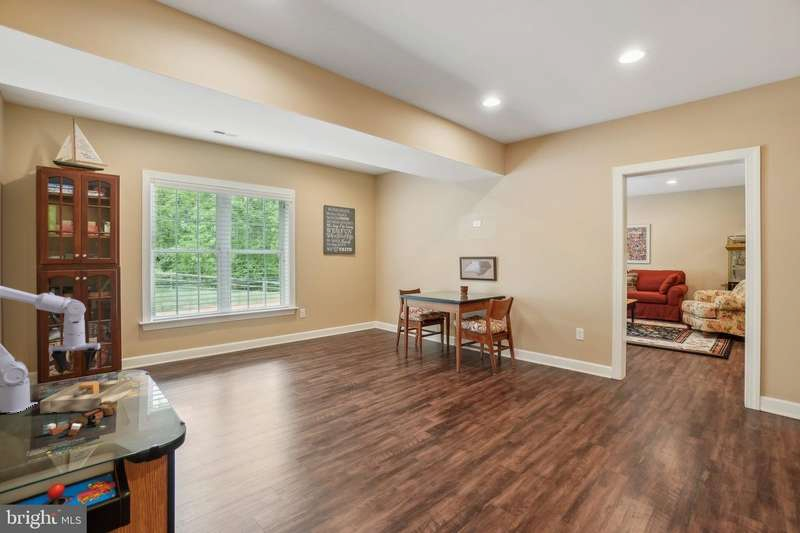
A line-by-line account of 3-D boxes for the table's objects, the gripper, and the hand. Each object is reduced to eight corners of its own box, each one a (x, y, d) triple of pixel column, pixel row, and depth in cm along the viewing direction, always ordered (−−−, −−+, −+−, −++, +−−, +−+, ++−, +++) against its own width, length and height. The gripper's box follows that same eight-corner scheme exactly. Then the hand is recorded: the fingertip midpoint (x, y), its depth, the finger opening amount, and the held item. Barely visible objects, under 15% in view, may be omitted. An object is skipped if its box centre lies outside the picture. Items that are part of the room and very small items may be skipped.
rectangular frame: (40, 413, 121) (39, 397, 120) (79, 392, 138) (79, 378, 138) (101, 409, 123) (101, 394, 123) (132, 390, 141) (132, 376, 141)
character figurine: (46, 436, 106) (45, 422, 106) (104, 409, 124) (103, 397, 124) (75, 438, 105) (75, 424, 105) (129, 410, 123) (129, 399, 123)
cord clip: (78, 399, 129) (78, 385, 128) (84, 396, 132) (84, 382, 131) (93, 399, 129) (93, 384, 129) (99, 395, 132) (98, 381, 132)
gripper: (43, 336, 129) (44, 375, 129) (93, 334, 133) (94, 371, 134) (54, 332, 135) (56, 369, 136) (102, 330, 140) (103, 365, 140)
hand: (75, 370), depth 135 cm, fingers open, 7 cm apart
